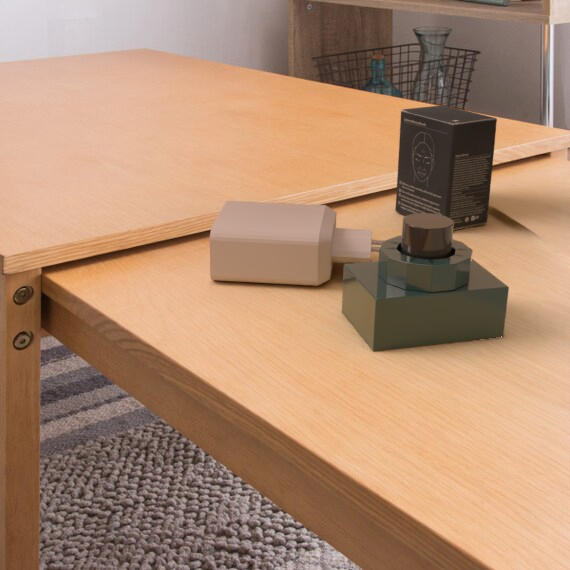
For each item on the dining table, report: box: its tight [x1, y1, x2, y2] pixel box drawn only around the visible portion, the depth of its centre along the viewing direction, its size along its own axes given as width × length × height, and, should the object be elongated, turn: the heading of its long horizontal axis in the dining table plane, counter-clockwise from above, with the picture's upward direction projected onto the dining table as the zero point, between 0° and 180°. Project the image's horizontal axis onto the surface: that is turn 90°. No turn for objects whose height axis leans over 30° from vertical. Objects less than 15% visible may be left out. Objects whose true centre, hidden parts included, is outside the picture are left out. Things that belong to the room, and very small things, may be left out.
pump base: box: [341, 234, 510, 353], centre depth 68 cm, size 10×7×6 cm
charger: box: [209, 200, 385, 287], centre depth 78 cm, size 5×9×15 cm
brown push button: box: [401, 213, 454, 260], centre depth 66 cm, size 4×4×2 cm
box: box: [395, 104, 498, 231], centre depth 91 cm, size 8×6×11 cm
